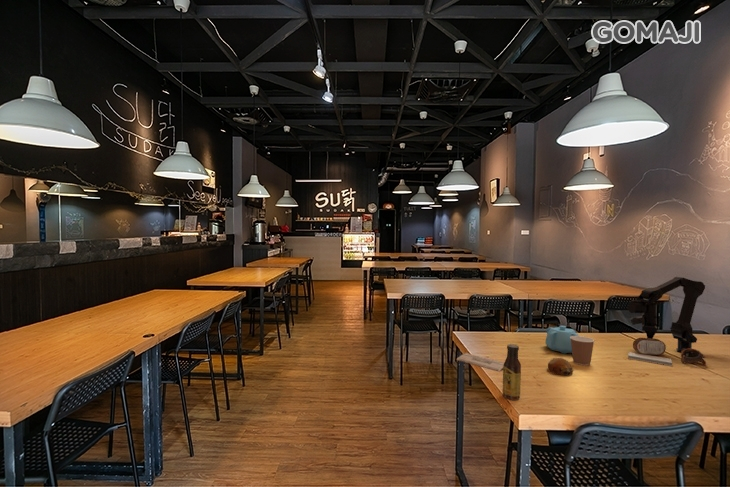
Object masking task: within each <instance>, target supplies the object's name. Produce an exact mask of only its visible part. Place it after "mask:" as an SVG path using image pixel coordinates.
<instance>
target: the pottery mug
mask: <svg viewBox="0 0 730 487" xmlns="http://www.w3.org/2000/svg"><path fill="white" fill-rule="evenodd" d="M690 352H692V353H690ZM680 358H681V359H680V361H681V363H682V364H685V363H689V364H690V363H691V364H694V363H701V364H703V365H704V366H706V363H707V362H706V360H705V359H706V356H704V354H703V353H702V352H701V351H700V350H698V349H695V348H692V349H685V348H683V349H681V352H680Z"/></svg>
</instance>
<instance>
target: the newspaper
mask: <svg viewBox="0 0 730 487" xmlns="http://www.w3.org/2000/svg"><path fill="white" fill-rule="evenodd" d="M456 361H459V362H462V363H467V364H470V365H474V366H478V367H481V368H485V369H488V370H492V371H496V372H499V373H500V372H501V370H503V365H504V362H503V361H498V360H494V359H491V358H486V357H483V356H479V355H475V354H471V353H467V352H465V353H463V354H461V355H459V356H458V357H457V358H456Z"/></svg>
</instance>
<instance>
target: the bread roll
mask: <svg viewBox="0 0 730 487" xmlns="http://www.w3.org/2000/svg"><path fill="white" fill-rule="evenodd" d="M547 370H548V371H549V372H551V373H552V374H554V375H558V376H566V377H569V376H570V375H572V374H573V372H574V369H573V365H572V364H571V362H569V360H567V359H565V358H562V357H553V358H552V359H551V360H549V361H548V363H547Z"/></svg>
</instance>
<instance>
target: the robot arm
mask: <svg viewBox="0 0 730 487" xmlns="http://www.w3.org/2000/svg"><path fill="white" fill-rule="evenodd" d="M680 287H682V291H683V293H684V298H683V301H682V304H681V305H682V306H681V309H680V312H679V317H678V319H677V320H676V321H675V322H674V321H673V322H672V323H671V326H670V328H669V329H670V333H671V335H672V337H673V339H675V340H677V347H676V349H675V350H676V352H679V353H681V349H683V348H685V349H693V345H692V344H696V343H697V341H698V338H697V337H696V336H695V334H693V327H692V325H691V322H692V319H693V318H692V317H693V315H694V312H695V308H696V305H697V304H696V303H697V300H698V298H699V297H700V296H702V295H703V293H704V291H705V289H706V285H705V284H704V282H702V281H700V280H699V281H697V280H692V279H688V278H685V277H682V276H681V277H680V276H675V277H674V276H673V278H672V279H670V280H668V281H666V282H664V283H661V284H660V285H657V286H655V287H649V288H644V289H643V290H642V291H641V292H640V294H639V295H638V296H637V298H636V300H635V299H634V300H633V299H631V300H630V302H629V303H628V304H627V310H628V311H629V313H631V314H641V315H642V316H634V317H631V318H629V320H630V323H631V325H632V326H635V325H639V324H641V325H642V326H641V330H642V331H643V332H645V333H646V334H645V335H646V338H653V339H654V337H655V335H656V333H658V326H657V325H658V323H657V317H658V316H657V310H658V309H657V307H658V306H661V305H662V303H661V302H659V300H660V299H661V298H663V296H664V295H665V294H667V293H669V292H671V291H673V290H675V289H677V288H680ZM690 353H692V352H690Z"/></svg>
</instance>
